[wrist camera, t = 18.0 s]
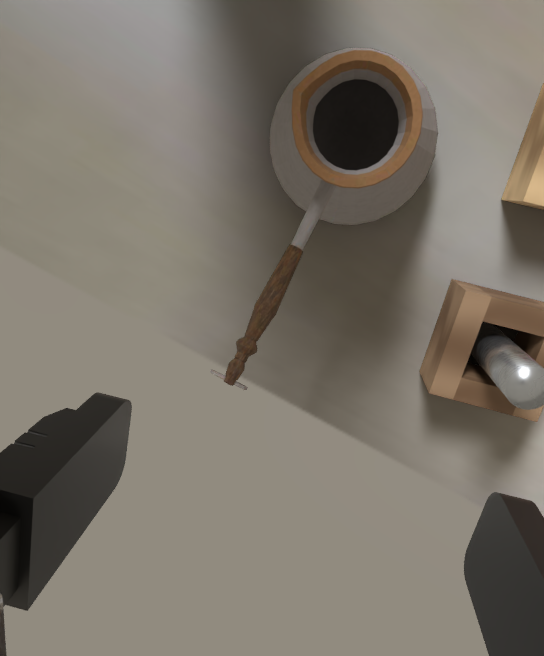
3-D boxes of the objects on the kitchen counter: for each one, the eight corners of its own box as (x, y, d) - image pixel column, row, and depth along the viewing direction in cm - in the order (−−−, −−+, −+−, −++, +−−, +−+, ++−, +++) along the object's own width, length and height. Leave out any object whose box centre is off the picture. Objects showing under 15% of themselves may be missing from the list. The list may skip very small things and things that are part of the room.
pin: (472, 319, 39) (515, 361, 29) (507, 328, 39) (562, 373, 29) (459, 351, 40) (498, 402, 30) (494, 360, 39) (544, 415, 30)
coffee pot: (317, 29, 35) (301, -83, 20) (461, 102, 35) (546, 41, 20) (201, 292, 41) (127, 346, 27) (323, 353, 41) (314, 440, 27)
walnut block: (451, 279, 38) (466, 290, 34) (554, 304, 38) (582, 319, 33) (419, 371, 40) (428, 393, 36) (515, 397, 40) (537, 421, 36)
